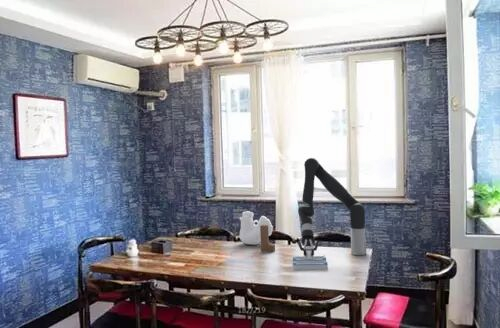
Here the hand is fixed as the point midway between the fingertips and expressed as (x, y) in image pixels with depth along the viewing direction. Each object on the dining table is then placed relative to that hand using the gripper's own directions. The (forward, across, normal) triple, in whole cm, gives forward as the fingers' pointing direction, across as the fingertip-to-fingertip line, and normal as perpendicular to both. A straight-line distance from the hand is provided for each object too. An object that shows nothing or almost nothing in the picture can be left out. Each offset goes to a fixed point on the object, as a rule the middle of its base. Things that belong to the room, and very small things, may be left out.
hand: (309, 255), depth 255 cm
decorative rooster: (-32, -37, +39) cm, 62 cm away
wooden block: (-18, -27, +25) cm, 41 cm away
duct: (+5, 0, +2) cm, 5 cm away
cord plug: (+2, 0, +5) cm, 5 cm away
